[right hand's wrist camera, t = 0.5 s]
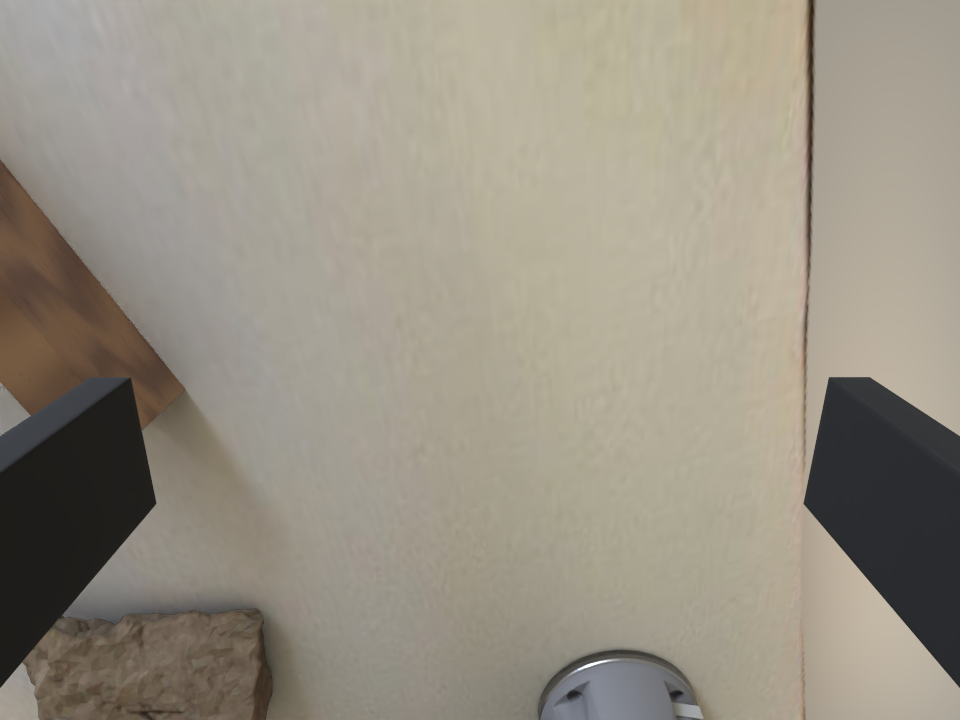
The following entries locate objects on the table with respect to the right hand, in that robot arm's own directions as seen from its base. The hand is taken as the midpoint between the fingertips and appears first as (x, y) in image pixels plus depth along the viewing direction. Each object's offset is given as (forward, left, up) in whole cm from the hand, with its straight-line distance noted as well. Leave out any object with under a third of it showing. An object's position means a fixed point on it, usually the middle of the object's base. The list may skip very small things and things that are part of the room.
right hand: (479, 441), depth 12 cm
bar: (-6, +31, -36) cm, 48 cm away
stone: (-42, +30, -36) cm, 63 cm away
